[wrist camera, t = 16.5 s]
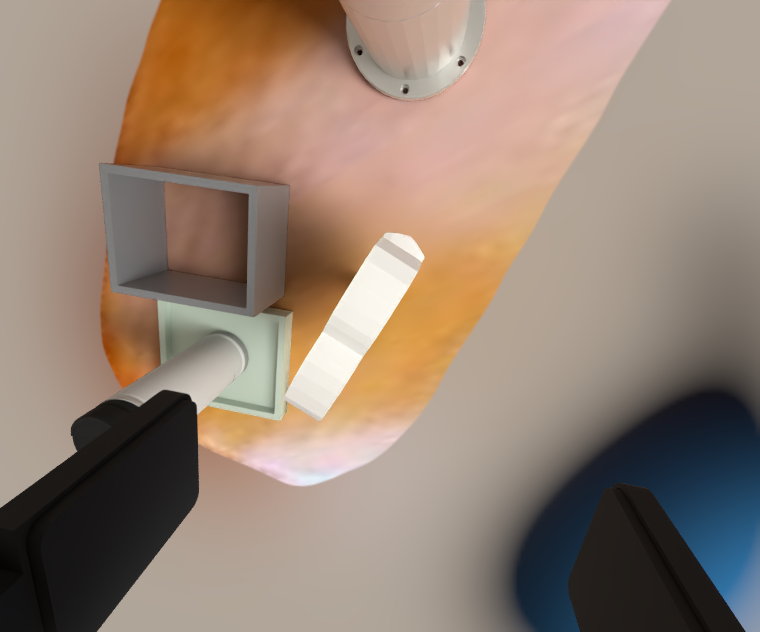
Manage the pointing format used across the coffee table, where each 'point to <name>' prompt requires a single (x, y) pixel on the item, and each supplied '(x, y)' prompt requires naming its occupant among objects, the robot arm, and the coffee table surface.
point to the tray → (262, 340)
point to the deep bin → (149, 244)
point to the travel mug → (171, 383)
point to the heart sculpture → (355, 323)
